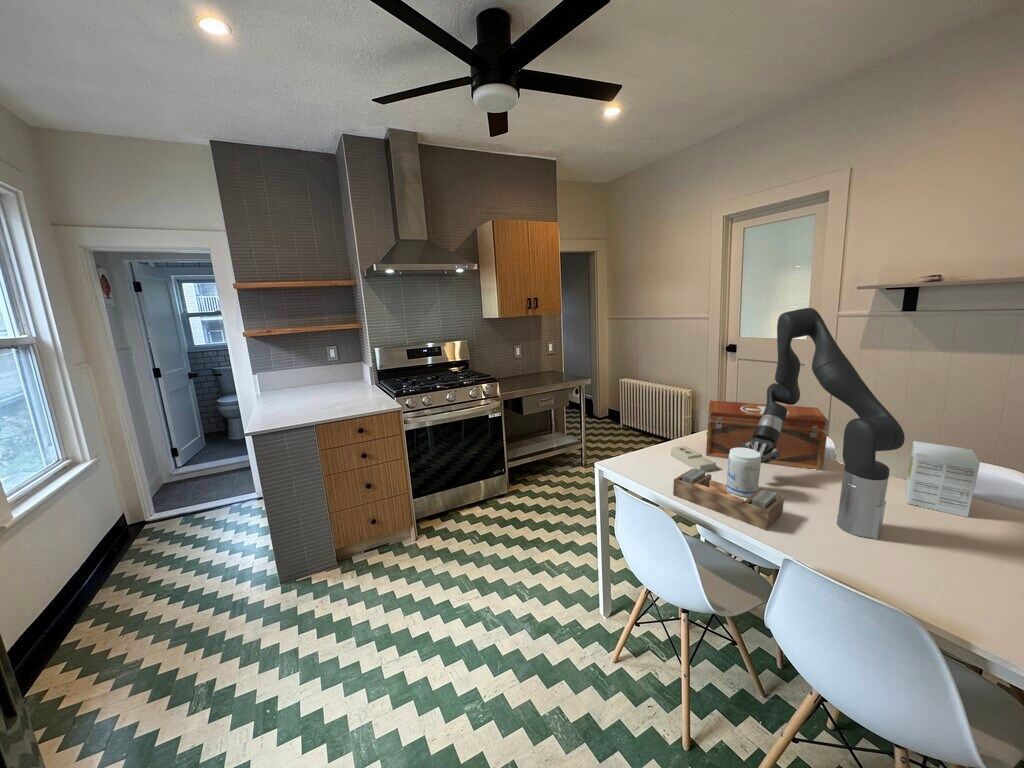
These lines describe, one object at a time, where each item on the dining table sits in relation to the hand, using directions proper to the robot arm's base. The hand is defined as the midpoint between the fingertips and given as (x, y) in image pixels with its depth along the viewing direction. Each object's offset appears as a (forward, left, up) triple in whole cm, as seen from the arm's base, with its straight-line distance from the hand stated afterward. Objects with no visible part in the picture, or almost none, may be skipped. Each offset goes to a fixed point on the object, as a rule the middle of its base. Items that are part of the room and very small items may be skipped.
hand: (752, 470), depth 139 cm
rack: (0, +21, -5) cm, 22 cm away
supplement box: (-43, -27, -6) cm, 51 cm away
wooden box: (+9, -31, -6) cm, 33 cm away
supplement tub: (0, +8, -6) cm, 10 cm away
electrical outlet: (+24, -4, -6) cm, 25 cm away
